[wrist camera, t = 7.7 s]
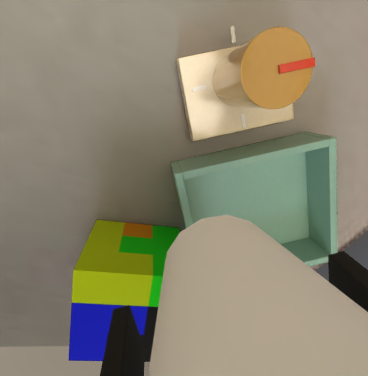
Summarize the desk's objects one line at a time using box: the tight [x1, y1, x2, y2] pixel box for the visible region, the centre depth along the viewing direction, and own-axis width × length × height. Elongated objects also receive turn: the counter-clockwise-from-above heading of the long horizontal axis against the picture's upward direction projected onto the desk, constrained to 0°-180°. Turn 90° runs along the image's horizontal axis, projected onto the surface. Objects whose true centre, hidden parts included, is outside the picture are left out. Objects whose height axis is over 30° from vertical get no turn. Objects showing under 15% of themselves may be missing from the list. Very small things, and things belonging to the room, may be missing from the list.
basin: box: [171, 132, 337, 266], centre depth 31 cm, size 17×15×5 cm
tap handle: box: [213, 27, 315, 109], centre depth 22 cm, size 5×5×9 cm
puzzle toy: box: [69, 220, 180, 362], centre depth 29 cm, size 10×10×10 cm
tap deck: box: [176, 26, 294, 141], centre depth 27 cm, size 11×10×3 cm
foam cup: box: [148, 215, 368, 376], centre depth 9 cm, size 10×9×13 cm
